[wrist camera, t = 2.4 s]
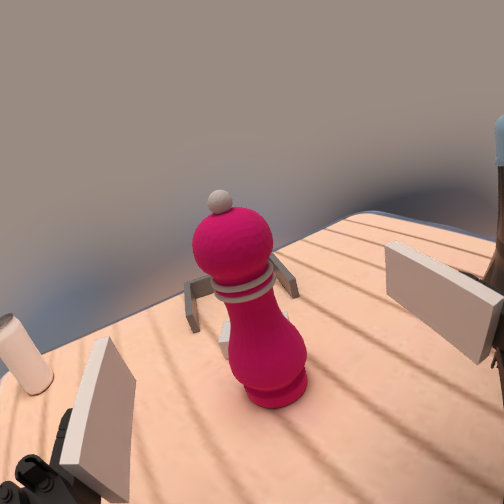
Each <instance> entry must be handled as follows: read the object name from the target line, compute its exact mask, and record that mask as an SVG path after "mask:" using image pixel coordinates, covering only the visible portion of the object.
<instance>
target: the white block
mask: <svg viewBox="0 0 504 504" xmlns="http://www.w3.org/2000/svg"><path fill="white" fill-rule="evenodd" d="M282 314H283V315H284V316H285V317H286V318H287V320H288V321H289V317H288V313H287V312H283V313H282ZM289 322H290V321H289ZM229 337H230V321H227V322H224V324H223V327H222V331H221V335H220V338H219V342H218V343H219V345H220V348H221V350H222V352H223V355H224V357H225V359H228V345H229Z"/></svg>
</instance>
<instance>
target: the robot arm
mask: <svg viewBox="0 0 504 504" xmlns="http://www.w3.org/2000/svg"><path fill="white" fill-rule="evenodd" d="M495 137H496V138H495V139H496V157H495V164H496V165H498V223H497V239H496V249H495V252H494V255H493V257H492V259H491V262H490V264H489V266H488V268H487V271H486V273H485V275H484V277H483V279H482V280H481V279H480V280H479V278H477V277H475V276H474V275H472V274H470V273H466V272H462V271H457V270H455V269H453V268H451V267H449V266H447V265H445V264H443V263H441V262H439V261H437V260H435V259H433V258H431V257H429V256H427V255H425V254H423V253H421V252H419V251H417V250H415V249H413V248H411V247H409V246H407V245H405V244H402V243H400V242H398V241H394V242H392V243H389V244H386V245H385V262H386V289H387V295H388V296H390V297H391V298H392V299H394V300H395V301H396V302H398V303H399V304H400V305H402V306H403V307H404V308H406V309H407V310H408V311H410V312H411V313H412V314H414V315H415V316H416V317H417V318H419V319H420V320H421V321H423V322H424V323H425V324H427V325H428V326H429V327H430V328H432V329H433V330H434V331H436V332H437V333H438V334H439V335H441V336H442V337H443V338H444V339H446V340H447V341H448V342H449V343H451V344H452V345H453V346H454V347H456V348H457V349H458V350H459V351H461V352H462V353H463V354H464V355H466V356H467V357H468V358H469V359H470V360H472V361H473V362H474V363H475V364H476V365H478V364H480V363H481V362H482V361H483V360H484V359H485V358H487V357H488V356H489V353H490V350H491V347H492V345H493V346H494V347H495V348H497V349H496V352H495V355H494V358H493V361H492V364H491V369H492V368H494V365H495V362H496V361H497V364H498V365H497V367H496V368H498V370H499V376H500V382H501V389H502V397H503V406H504V114H503V115H501V116H500V117H499V118H498V120H497V122H496V125H495ZM135 389H136V380H135V378H134V376H133V375H132V373H131V372H130V370H129V369H128V367H127V365H126V364H125V362H124V360H123V359H122V357H121V355H120V354H119V352H118V350H117V349H116V347H115V345H114V343H113V342H112V340H111V338H110V336H109V337H105V338H101V339H98V340H95V342H94V345H93V348H92V350H91V353H90V356H89V359H88V362H87V365H86V368H85V371H84V374H83V377H82V380H81V383H80V386H79V389H78V393H77V396H76V399H75V403H74V406H73V408H70V409H68V410H67V411H66V412H65V414H64V415H63V417H62V418H61V422H60V425H59V431H58V432H57V436H56V438H57V439H56V440H55V444H54V447H53V451H52V456H51V460H50V464H49V465H48V464H47V463H46V462H44V461H43V460H42V459H41V458H40V457H39V456H37V455H34V454H31V455H27V456H25V457H23V458H22V459H21V460H20V461H19V462H18V464H17V466H16V470H15V478H16V480H17V481H18V482H20V483H21V484H22V485H24V486H25V487H24V488H20V487H19V486H17V485H16V484H15V483H13V482H11V481H5V482H3V483H2V484H1V485H0V504H101V497H102V498H104V499H105V500H107V501H108V502H110V503H129V481H130V451H131V434H132V420H133V409H134V398H135ZM503 504H504V500H503Z"/></svg>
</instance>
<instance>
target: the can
mask: <svg viewBox="0 0 504 504" xmlns="http://www.w3.org/2000/svg"><path fill="white" fill-rule="evenodd" d="M0 357H1V359H2V360H3V361H4V363H5V364H6V366H7V367H8V368H9V370H10V371H11V373H12V374H13V376H14V377H15V378H16V379H17V381H18V382H19V383H20V385H21V386H22V387H23V388H24V390H25V391H26V392H27V393H28V394H31V395H37V394H40V393H42V392H43V391H45V390H46V389H47V388H48V387H49V386H50V384H51V383H52V380H53V372H52V370H51V369H50V367H49V366H48V364H47V363H46V361H45V360H44V358H43V357H42V355H41V354H40V353H39V351H38V350H37V348H36V346H35V345H34V343H33V342H32V340H31V339H30V337H29V336H28V334H27V332H26V331H25V329H24V327H23V326H22V324H21V323H20V321H19V320H18V319H17V318H15V317H14V316H13V313H8V314H6V315H4V316H2V317H1V318H0Z"/></svg>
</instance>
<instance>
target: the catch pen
mask: <svg viewBox="0 0 504 504" xmlns="http://www.w3.org/2000/svg"><path fill="white" fill-rule="evenodd" d="M268 260H269V261H271V263H272V264H273V272H274V273H275V275H276V277H277V278H278V280H279V281H280V282H281V284H282V285H283V286H284V287H285V289H286V290H287V291H288V293H289V294H290V295H291V297H292V298H296V297H299V292H298V288H297V283H296V279H295V277H294V276H293V275H292V274H291V273H290V272H289V271H288V270H287V268H286V267H285V266H284V265H283V264H282V263H281V262H280V261H279V259H278V258H277V257H276V256H275V255H274V254H273V253H271V254H270V256H269V258H268ZM211 278H212V276H210V275H206V276H203V277H200V278H197V279H194V280H192V281H189V282H186V283H184V294H185V311H186V318H187V320H188V322H189V325H190V327H191V329H192V331H193V333H196V332H199V331H200V327H199V320H198V313H197V305H196V298H199V297H202V296H205V295H208V294H211V293H214V288H213V287H212V285H211Z"/></svg>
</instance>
